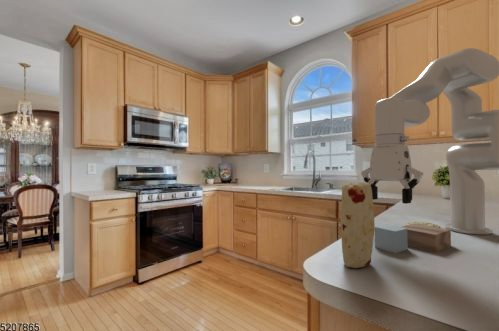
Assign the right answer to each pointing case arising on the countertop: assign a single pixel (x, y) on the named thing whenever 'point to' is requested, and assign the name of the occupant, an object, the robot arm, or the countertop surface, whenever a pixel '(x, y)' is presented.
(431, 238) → the walnut block
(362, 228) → the food model
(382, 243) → the slate cube
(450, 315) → the countertop surface
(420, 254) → the countertop surface
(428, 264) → the countertop surface
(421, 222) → the decorated donut
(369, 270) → the countertop surface
